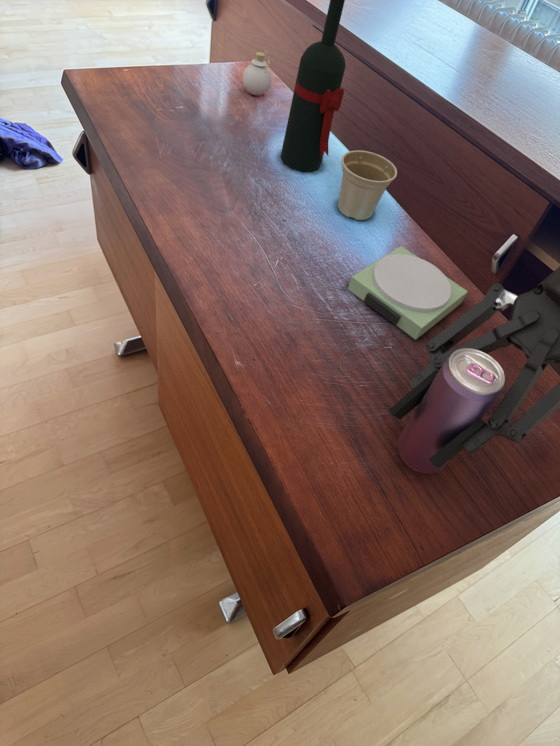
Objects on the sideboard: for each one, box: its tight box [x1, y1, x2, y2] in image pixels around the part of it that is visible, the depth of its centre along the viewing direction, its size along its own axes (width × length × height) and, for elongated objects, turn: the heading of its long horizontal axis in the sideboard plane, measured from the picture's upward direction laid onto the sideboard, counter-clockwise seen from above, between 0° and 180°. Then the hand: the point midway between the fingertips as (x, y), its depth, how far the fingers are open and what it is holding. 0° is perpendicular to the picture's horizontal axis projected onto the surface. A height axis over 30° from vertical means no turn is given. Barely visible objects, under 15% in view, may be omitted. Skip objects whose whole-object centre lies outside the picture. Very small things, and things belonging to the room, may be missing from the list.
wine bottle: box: [279, 0, 347, 173], centre depth 95 cm, size 8×10×30 cm
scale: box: [347, 245, 469, 340], centre depth 86 cm, size 13×14×3 cm
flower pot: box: [337, 149, 398, 221], centre depth 96 cm, size 9×9×9 cm
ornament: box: [242, 48, 272, 96], centre depth 117 cm, size 6×7×10 cm
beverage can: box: [397, 348, 506, 474], centre depth 60 cm, size 6×6×15 cm
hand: (414, 438), depth 60 cm, fingers closed on beverage can, 6 cm apart
